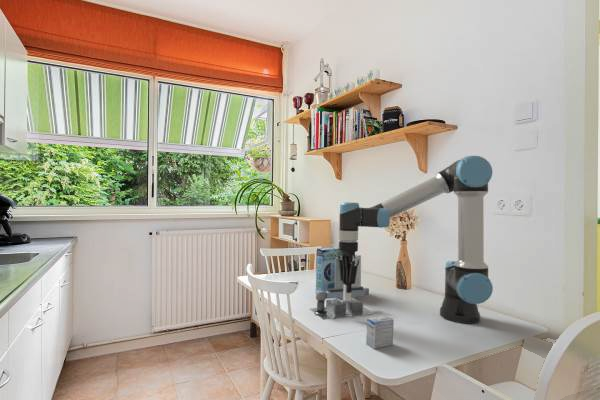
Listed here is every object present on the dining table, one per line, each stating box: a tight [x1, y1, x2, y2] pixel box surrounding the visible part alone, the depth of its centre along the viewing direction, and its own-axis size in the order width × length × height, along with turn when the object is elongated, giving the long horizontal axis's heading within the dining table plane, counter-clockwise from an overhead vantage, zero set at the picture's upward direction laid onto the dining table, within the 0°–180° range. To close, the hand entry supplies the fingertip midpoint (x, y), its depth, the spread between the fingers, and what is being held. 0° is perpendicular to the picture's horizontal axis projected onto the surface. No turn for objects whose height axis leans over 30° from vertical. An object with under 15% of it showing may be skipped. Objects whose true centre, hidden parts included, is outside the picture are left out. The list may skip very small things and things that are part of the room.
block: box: [342, 297, 364, 314], centre depth 149 cm, size 8×5×4 cm, turn 22°
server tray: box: [309, 300, 377, 320], centre depth 148 cm, size 14×25×6 cm, turn 112°
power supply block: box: [325, 298, 346, 315], centre depth 147 cm, size 8×5×4 cm, turn 22°
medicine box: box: [365, 315, 395, 350], centre depth 115 cm, size 8×4×9 cm, turn 118°
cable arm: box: [315, 285, 370, 301], centre depth 148 cm, size 25×4×4 cm, turn 112°
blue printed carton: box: [315, 246, 342, 292], centre depth 179 cm, size 20×5×23 cm, turn 126°
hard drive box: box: [335, 254, 362, 301], centre depth 171 cm, size 16×8×20 cm, turn 149°
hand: (347, 300), depth 140 cm, fingers closed
